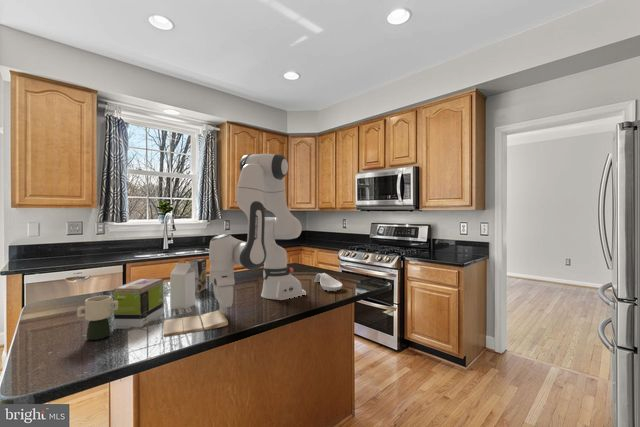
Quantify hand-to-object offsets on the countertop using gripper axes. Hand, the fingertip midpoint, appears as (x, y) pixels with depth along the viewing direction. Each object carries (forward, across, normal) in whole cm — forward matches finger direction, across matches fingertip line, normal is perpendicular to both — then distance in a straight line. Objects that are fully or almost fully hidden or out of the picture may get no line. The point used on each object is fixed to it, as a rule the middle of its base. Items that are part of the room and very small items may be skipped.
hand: (222, 312), depth 116 cm
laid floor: (+2, +3, -14) cm, 15 cm away
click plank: (+2, +3, -4) cm, 5 cm away
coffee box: (+3, -50, -4) cm, 50 cm away
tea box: (+2, -11, -28) cm, 30 cm away
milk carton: (+2, -23, -13) cm, 26 cm away
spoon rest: (+5, -24, +60) cm, 64 cm away
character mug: (+2, 0, -39) cm, 39 cm away
